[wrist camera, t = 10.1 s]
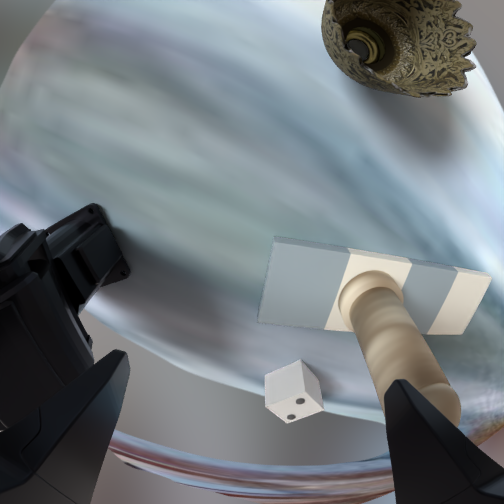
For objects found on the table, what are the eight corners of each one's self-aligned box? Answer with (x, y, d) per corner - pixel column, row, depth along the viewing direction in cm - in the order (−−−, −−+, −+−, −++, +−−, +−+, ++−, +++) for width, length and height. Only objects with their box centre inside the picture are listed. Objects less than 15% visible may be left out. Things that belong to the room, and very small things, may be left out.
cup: (312, 105, 16) (352, 98, 9) (290, 5, 13) (310, -55, 6) (413, 101, 16) (489, 103, 8) (393, 7, 12) (454, -29, 5)
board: (257, 314, 23) (257, 322, 22) (273, 236, 20) (274, 241, 19) (457, 328, 25) (461, 334, 24) (486, 272, 22) (492, 277, 21)
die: (284, 392, 28) (287, 424, 25) (264, 374, 27) (265, 407, 23) (318, 379, 27) (324, 411, 24) (300, 358, 26) (305, 392, 22)
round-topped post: (343, 329, 23) (387, 478, 11) (333, 281, 21) (392, 451, 9) (397, 311, 22) (465, 445, 10) (394, 261, 20) (490, 404, 8)
